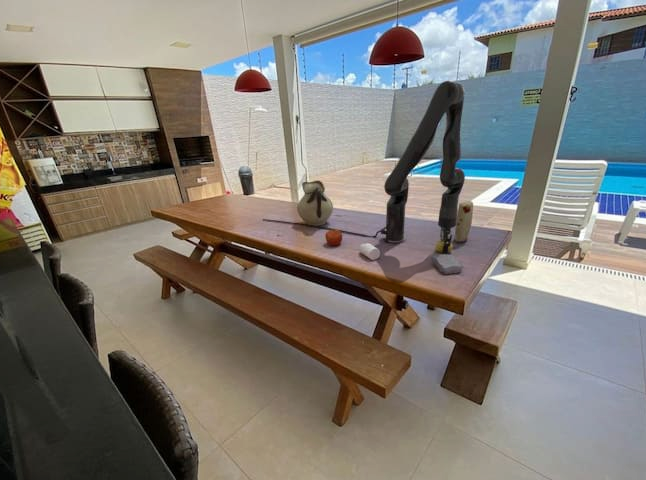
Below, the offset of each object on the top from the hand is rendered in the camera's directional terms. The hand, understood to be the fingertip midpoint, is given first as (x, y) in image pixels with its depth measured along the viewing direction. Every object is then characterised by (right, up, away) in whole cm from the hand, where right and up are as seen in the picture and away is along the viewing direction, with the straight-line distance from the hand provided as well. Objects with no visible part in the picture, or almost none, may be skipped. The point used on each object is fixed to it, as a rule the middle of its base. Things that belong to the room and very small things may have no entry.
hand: (443, 250), depth 143 cm
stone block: (-4, -8, -14) cm, 17 cm away
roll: (-35, -2, +2) cm, 35 cm away
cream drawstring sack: (-61, +20, +51) cm, 82 cm away
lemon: (0, -1, 0) cm, 1 cm away
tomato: (-51, +4, +17) cm, 54 cm away
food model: (+13, +5, +12) cm, 19 cm away
